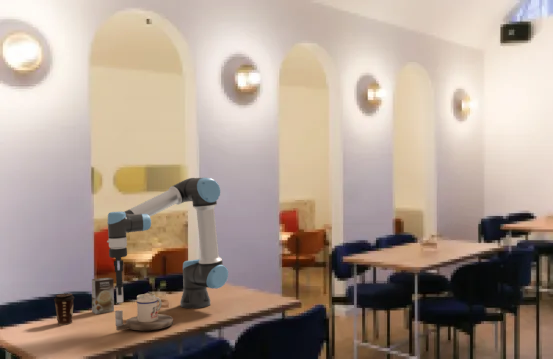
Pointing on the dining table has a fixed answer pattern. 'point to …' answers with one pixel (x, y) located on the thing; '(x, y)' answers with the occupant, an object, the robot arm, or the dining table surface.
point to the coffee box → (102, 295)
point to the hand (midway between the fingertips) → (120, 302)
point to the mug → (152, 296)
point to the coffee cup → (64, 308)
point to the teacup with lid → (147, 309)
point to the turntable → (136, 325)
